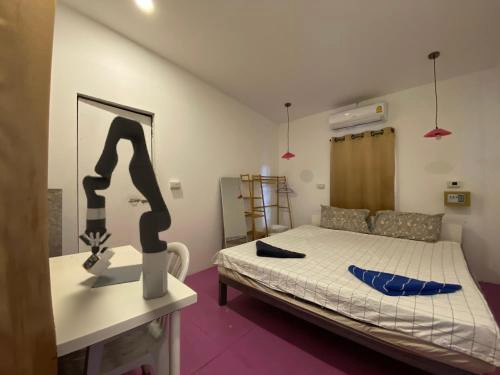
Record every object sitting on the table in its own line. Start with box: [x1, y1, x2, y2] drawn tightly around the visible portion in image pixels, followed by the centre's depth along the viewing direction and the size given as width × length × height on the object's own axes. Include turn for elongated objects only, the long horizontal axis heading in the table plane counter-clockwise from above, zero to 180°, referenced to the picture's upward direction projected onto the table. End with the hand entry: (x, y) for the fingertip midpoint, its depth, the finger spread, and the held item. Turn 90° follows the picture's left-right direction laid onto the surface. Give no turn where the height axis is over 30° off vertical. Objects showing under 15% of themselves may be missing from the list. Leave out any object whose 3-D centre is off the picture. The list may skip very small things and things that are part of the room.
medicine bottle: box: [81, 246, 116, 278], centre depth 100 cm, size 7×7×12 cm
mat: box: [90, 263, 142, 289], centre depth 102 cm, size 22×18×1 cm
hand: (95, 253), depth 99 cm, fingers closed
